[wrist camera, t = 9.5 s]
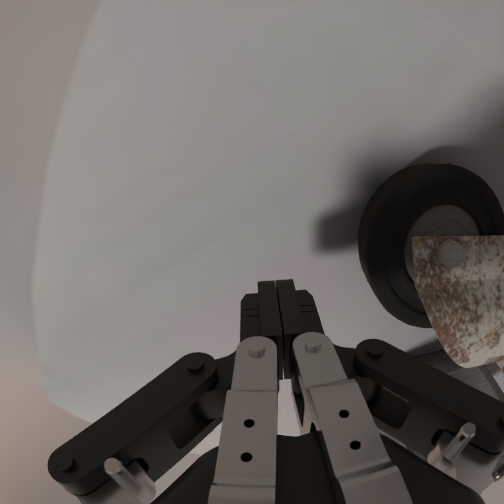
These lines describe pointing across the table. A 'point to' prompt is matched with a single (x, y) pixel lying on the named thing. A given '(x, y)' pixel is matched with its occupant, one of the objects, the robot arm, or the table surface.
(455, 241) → the caster wheel
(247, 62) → the table surface
